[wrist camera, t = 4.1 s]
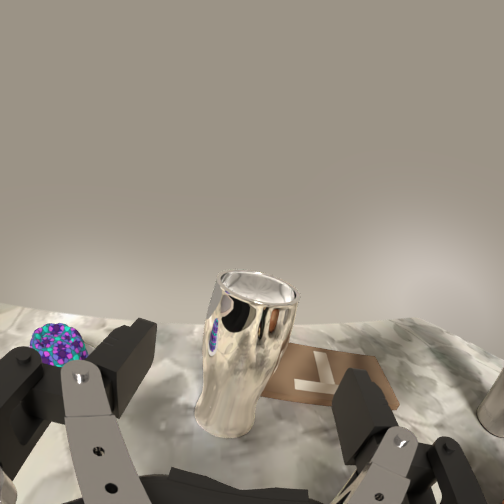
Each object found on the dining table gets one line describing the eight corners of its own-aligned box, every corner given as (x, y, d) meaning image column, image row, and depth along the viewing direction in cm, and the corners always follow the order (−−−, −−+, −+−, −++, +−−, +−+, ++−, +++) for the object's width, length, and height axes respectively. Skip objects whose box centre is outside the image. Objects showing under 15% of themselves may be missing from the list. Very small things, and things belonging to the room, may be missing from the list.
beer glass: (191, 390, 28) (214, 262, 25) (253, 397, 30) (290, 276, 26) (188, 438, 22) (213, 296, 18) (262, 444, 23) (315, 311, 19)
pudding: (43, 333, 29) (38, 297, 27) (124, 358, 31) (124, 322, 29) (-4, 388, 17) (-17, 348, 16) (95, 430, 19) (87, 393, 18)
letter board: (372, 361, 42) (375, 356, 41) (396, 409, 30) (399, 404, 30) (252, 340, 42) (254, 334, 41) (246, 393, 30) (248, 386, 30)
